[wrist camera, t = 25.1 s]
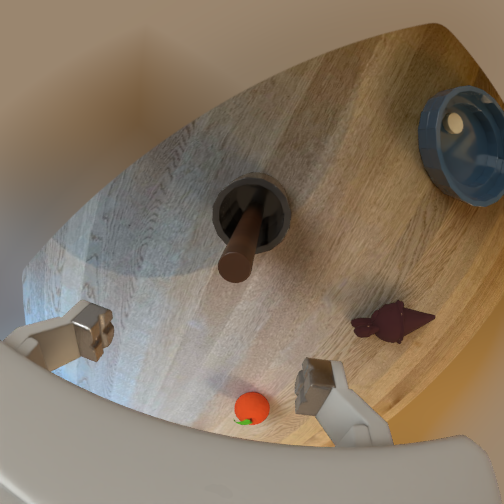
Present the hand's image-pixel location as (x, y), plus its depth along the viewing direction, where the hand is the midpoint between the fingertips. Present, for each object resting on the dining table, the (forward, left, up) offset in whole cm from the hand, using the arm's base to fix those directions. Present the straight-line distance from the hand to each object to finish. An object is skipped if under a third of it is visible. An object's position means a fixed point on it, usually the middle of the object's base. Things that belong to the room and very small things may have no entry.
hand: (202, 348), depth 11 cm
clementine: (+29, -26, -30) cm, 49 cm away
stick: (+1, -1, -30) cm, 30 cm away
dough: (+8, +32, -29) cm, 44 cm away
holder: (0, 0, -30) cm, 30 cm away
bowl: (+12, +32, -30) cm, 46 cm away
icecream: (+28, +6, -30) cm, 42 cm away
